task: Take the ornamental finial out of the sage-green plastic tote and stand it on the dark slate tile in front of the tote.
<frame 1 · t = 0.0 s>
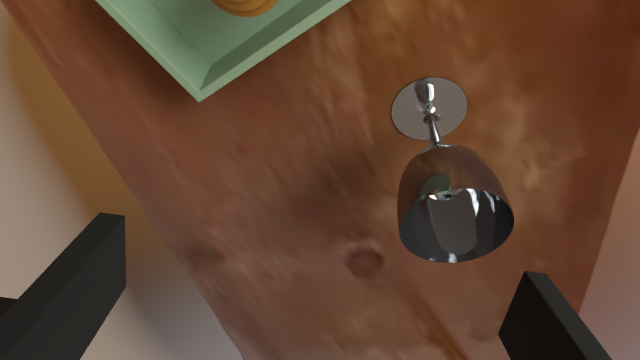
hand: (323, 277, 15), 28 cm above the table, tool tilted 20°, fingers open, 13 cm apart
metal goblet: (428, 108, 43), on the table
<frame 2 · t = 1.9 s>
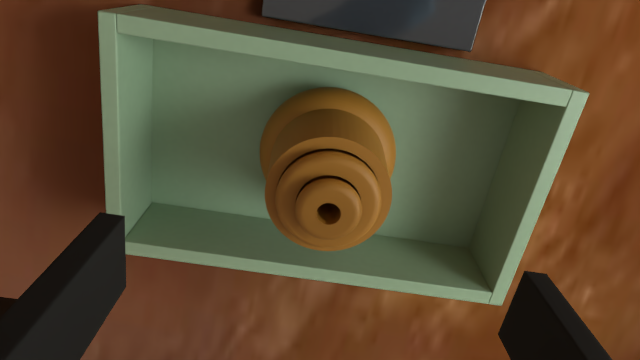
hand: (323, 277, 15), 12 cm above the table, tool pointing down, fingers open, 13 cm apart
ornamental finial: (327, 146, 26), resting on tote
tote: (327, 145, 26), on the table
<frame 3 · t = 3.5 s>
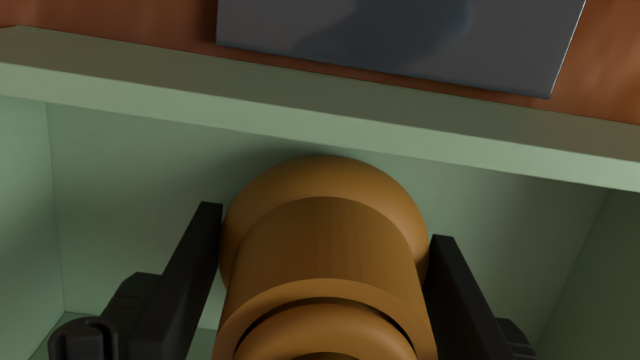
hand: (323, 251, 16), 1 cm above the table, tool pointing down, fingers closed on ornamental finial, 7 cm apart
ornamental finial: (323, 234, 17), resting on tote, touching gripper
tote: (322, 232, 17), on the table
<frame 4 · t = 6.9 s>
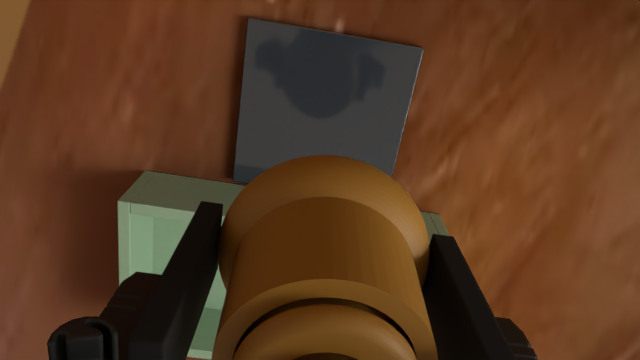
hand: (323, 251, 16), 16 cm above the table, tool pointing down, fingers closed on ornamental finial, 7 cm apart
ornamental finial: (323, 234, 17), point 14 cm above the table, touching gripper
tote: (284, 261, 35), on the table
slate tile: (322, 116, 30), on the table
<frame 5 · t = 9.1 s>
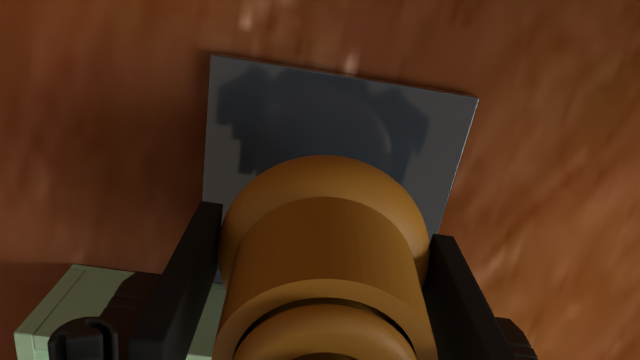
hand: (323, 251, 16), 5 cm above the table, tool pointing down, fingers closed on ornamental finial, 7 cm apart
ornamental finial: (323, 234, 17), point 4 cm above the table, touching gripper
slate tile: (325, 192, 21), on the table
when the fingers open (2 cm above the table, at t = 10.4 s): ornamental finial stays where it is, resting on slate tile.
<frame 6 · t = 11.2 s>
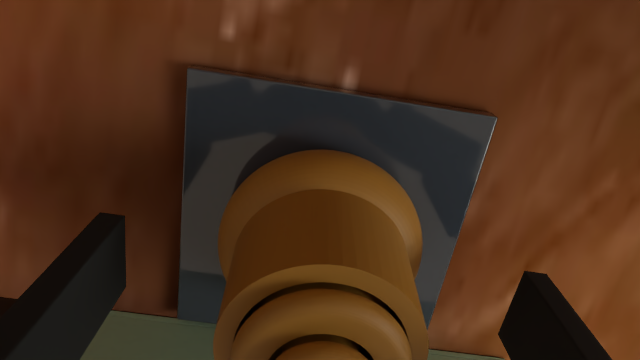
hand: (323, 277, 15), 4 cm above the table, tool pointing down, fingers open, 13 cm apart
ornamental finial: (320, 227, 18), resting on slate tile
slate tile: (320, 221, 18), on the table
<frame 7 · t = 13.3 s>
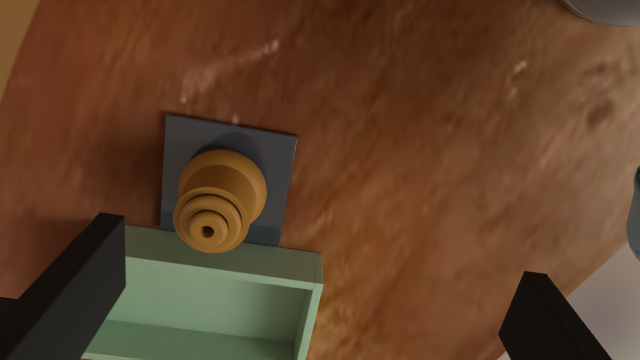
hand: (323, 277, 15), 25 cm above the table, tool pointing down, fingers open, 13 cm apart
ornamental finial: (225, 184, 40), resting on slate tile
tote: (204, 288, 45), on the table
slate tile: (226, 182, 40), on the table
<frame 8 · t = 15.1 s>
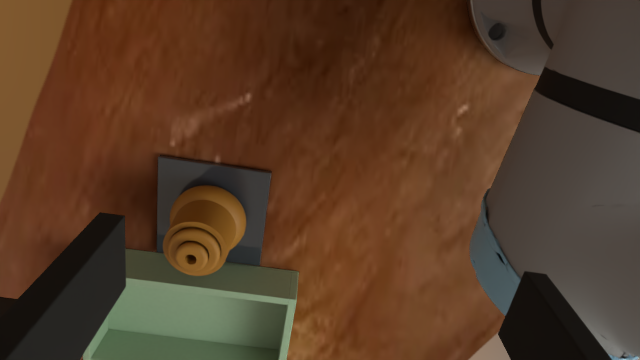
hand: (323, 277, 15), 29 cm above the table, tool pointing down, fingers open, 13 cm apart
ornamental finial: (211, 213, 46), resting on slate tile
tote: (197, 302, 51), on the table
slate tile: (212, 211, 46), on the table
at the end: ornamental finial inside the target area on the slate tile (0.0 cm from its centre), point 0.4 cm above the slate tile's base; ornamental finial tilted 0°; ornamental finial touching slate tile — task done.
